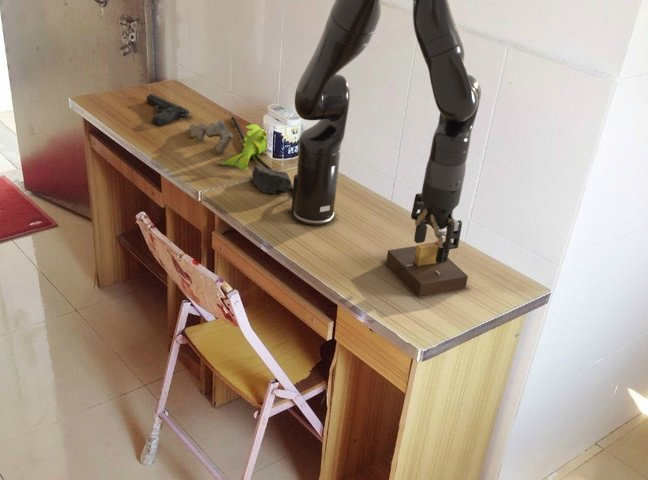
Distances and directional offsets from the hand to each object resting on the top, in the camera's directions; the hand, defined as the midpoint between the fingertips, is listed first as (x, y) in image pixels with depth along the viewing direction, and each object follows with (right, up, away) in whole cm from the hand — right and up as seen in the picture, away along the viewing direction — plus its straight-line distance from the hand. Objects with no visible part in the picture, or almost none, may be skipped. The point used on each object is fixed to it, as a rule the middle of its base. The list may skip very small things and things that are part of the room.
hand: (429, 252), depth 160 cm
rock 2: (-33, +18, +35) cm, 51 cm away
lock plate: (0, -5, +3) cm, 5 cm away
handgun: (-67, +46, +74) cm, 110 cm away
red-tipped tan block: (0, -2, +1) cm, 2 cm away
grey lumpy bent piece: (-51, +34, +57) cm, 83 cm away
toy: (-37, +28, +49) cm, 68 cm away
